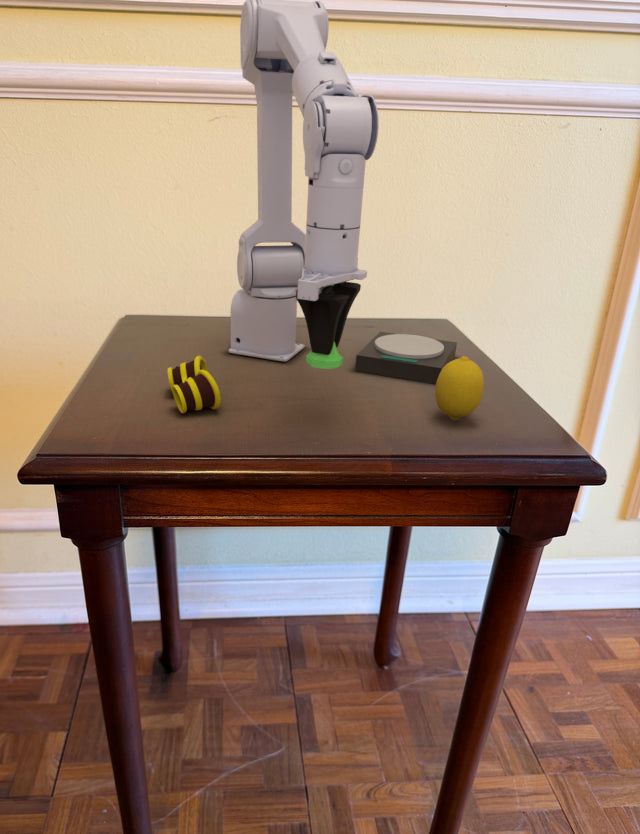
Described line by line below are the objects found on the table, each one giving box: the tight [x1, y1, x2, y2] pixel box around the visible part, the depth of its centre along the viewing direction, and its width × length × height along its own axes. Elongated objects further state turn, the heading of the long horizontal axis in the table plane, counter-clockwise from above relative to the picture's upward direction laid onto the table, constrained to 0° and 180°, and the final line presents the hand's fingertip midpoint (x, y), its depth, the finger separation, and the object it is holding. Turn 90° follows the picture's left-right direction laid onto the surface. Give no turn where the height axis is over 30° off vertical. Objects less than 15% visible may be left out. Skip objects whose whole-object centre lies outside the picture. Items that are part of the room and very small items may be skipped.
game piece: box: [305, 342, 344, 370], centre depth 78 cm, size 4×4×6 cm
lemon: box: [434, 355, 485, 421], centre depth 81 cm, size 6×6×8 cm
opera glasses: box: [167, 355, 222, 414], centre depth 84 cm, size 10×5×5 cm, turn 15°
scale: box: [354, 331, 458, 385], centre depth 100 cm, size 12×13×3 cm
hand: (325, 349), depth 79 cm, fingers closed on game piece, 2 cm apart
